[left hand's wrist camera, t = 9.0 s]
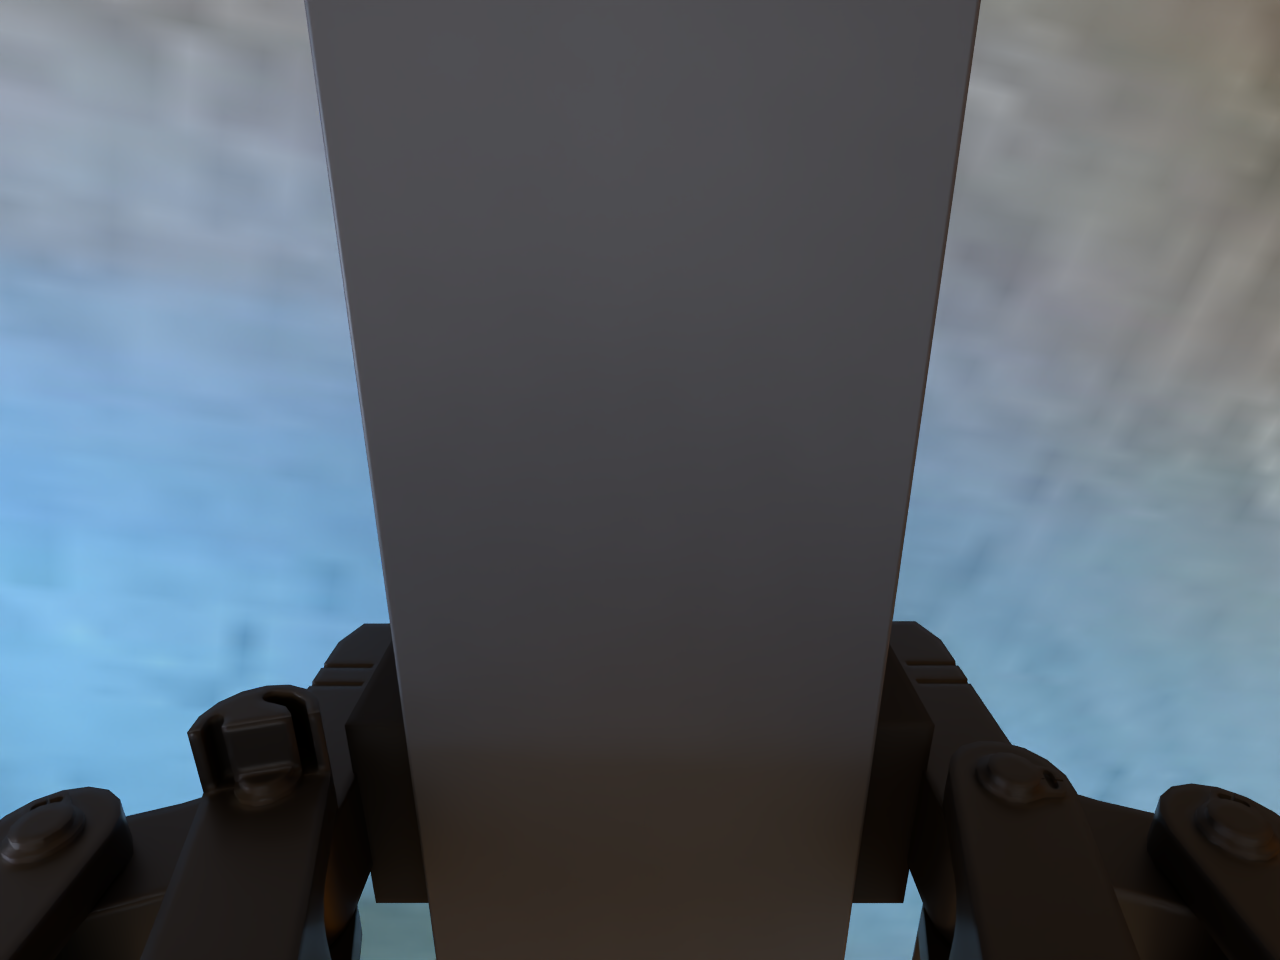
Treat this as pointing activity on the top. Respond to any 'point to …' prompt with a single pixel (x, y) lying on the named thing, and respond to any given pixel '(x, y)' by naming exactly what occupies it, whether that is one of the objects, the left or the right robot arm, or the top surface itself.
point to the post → (641, 440)
